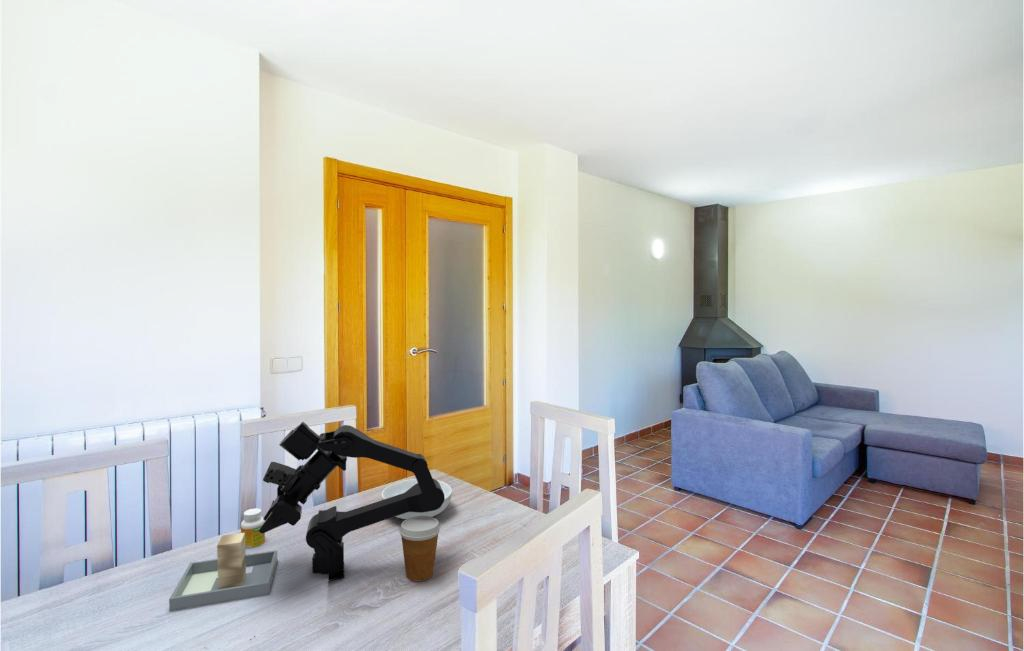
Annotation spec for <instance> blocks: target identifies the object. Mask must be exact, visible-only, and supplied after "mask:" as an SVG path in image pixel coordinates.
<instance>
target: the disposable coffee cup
mask: <svg viewBox="0 0 1024 651" xmlns="http://www.w3.org/2000/svg"><path fill="white" fill-rule="evenodd" d="M400 525H401V526H400V528H399V530H398V533H399V534H400V536H401V544H402V552H403V560H404V561H403V562H404V569H405V570H404V571H405V577H406V579H408V580H410V581H413V582H421V581H426V580H428V579H431V577H433V575H434V570H435V563H436V554H437V553H436V552H437V547H438V546H437V545H438V538H439V533H440V531H441V525H440V523H439V520H438V519H437V518H435V517H434V516H433V517H429V516H417V517H412V518H409V519H404V520H403V521H402V522H401V524H400Z"/></svg>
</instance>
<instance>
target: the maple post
mask: <svg viewBox="0 0 1024 651" xmlns="http://www.w3.org/2000/svg"><path fill="white" fill-rule="evenodd" d="M216 549H217V550H216V551H217V553H216V554H217V558H216V559H217V560H218V576H217V578H218V590H219V589H225V588H231V587H237V586H242V585H243V582H244V579H245V576H246V573H247V572H246V571H247V568H246V567H247V566H246V561H245V555H246V548H245V533H241V532H240V533H232V534H225V535H221V537H220V538H219V541H218V543H217V545H216Z"/></svg>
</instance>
